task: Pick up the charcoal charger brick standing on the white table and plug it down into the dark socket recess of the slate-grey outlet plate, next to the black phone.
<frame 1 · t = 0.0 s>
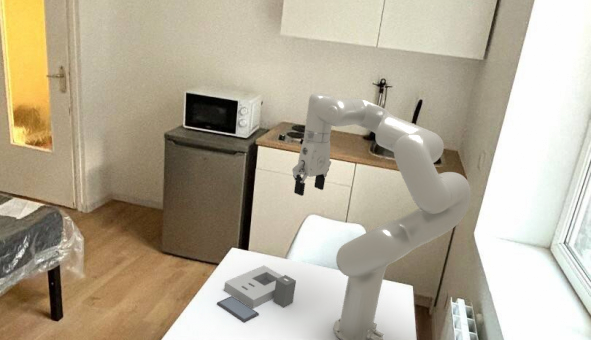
hand: (308, 191, 145), 37 cm above the table, tool pointing down, fingers open, 9 cm apart
charger: (282, 302, 152), on the table
outlet plate: (258, 289, 157), on the table
phone: (237, 311, 145), on the table
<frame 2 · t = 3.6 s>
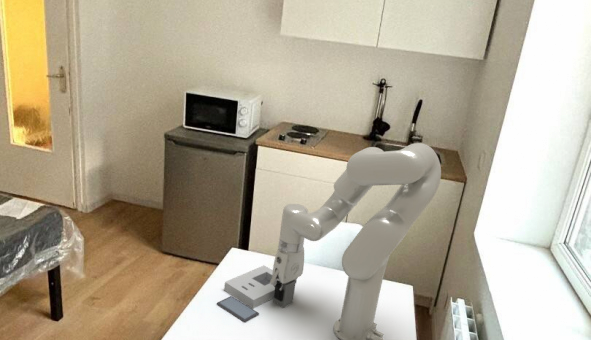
hand: (283, 296, 152), 2 cm above the table, tool pointing down, fingers closed on charger, 4 cm apart
charger: (282, 302, 152), on the table, touching gripper
everything else where it was.
when the fingers open (4 cm above the table, at t = 7.9 s): charger stays where it is, resting on outlet plate.
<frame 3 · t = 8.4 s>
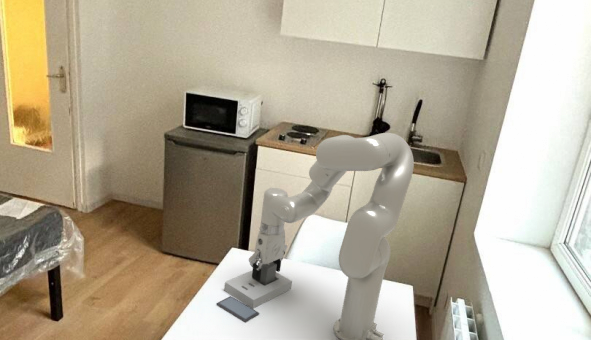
hand: (266, 274, 158), 5 cm above the table, tool pointing down, fingers open, 9 cm apart
charger: (264, 285, 160), resting on outlet plate
everything else where it was.
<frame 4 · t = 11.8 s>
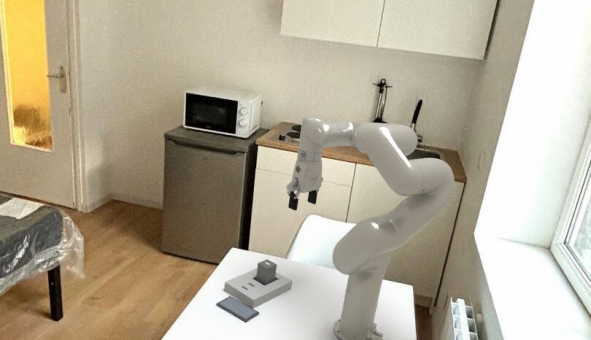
hand: (302, 205, 156), 28 cm above the table, tool pointing down, fingers open, 9 cm apart
nothing on the table moved.
at the end: charger 0.0 cm from the target spot on the outlet plate, point 0.5 cm above the outlet plate's base; charger tilted 0°; the gripper is holding nothing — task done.
